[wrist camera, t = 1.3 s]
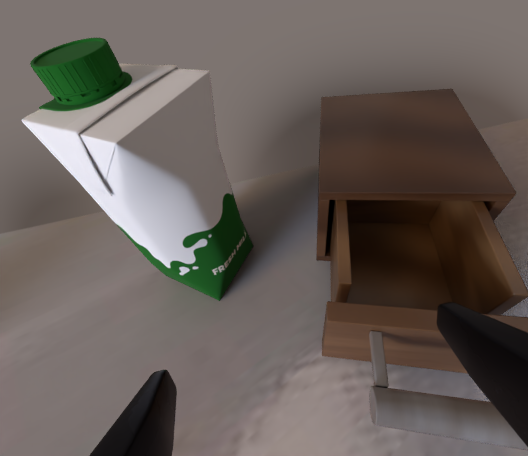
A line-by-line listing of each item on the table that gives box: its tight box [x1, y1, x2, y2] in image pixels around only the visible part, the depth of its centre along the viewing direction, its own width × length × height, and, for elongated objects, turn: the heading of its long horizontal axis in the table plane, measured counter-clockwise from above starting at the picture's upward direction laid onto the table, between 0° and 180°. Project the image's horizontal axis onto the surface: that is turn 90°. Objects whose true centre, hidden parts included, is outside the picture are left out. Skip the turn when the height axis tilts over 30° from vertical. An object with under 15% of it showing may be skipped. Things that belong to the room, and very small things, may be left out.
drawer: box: [322, 200, 528, 450], centre depth 19 cm, size 18×11×8 cm, turn 172°
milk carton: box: [22, 38, 253, 301], centre depth 21 cm, size 9×9×20 cm
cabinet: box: [317, 89, 516, 261], centre depth 26 cm, size 15×13×10 cm
